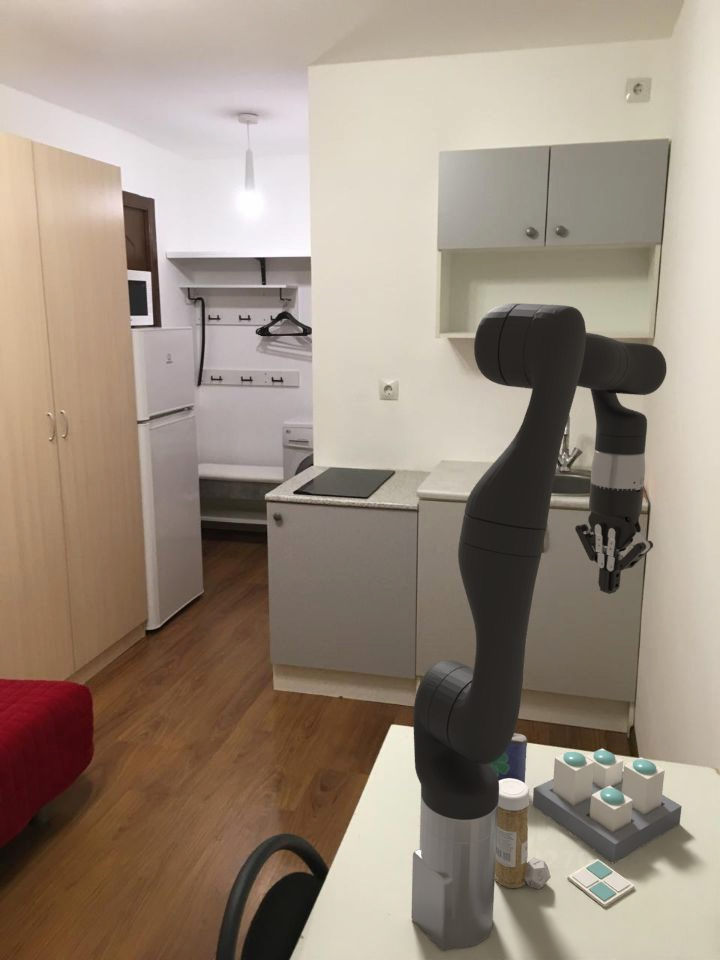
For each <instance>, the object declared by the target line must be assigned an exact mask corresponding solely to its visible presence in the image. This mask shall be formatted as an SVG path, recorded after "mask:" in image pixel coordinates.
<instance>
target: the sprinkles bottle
mask: <svg viewBox="0 0 720 960" xmlns="http://www.w3.org/2000/svg"><path fill="white" fill-rule="evenodd" d="M529 804H530V788H529V787H528V785H527V784H526V782H525V783H524V782H522V781H520V780H517V779H512V778H507V779H502V780H499V803H498V822H497V842H496V863H495V881H496V882H497V883H498V884H500V885H502V886H503V887H506V888H509V889H516V888H520V887H521V888H522V887H523V886H524V885H525V884H527V882H526V881H525V879H524V877H525V873H526V866H527V863H528V854H529V853H528V852H529V851H528V846H529V844H528V843H529V842H528V840H529V839H528V838H529V837H528V836H529V835H528V834H529V831H528V830H529V828H528V811H529V810H528V809H529Z"/></svg>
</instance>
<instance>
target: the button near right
mask: <svg viewBox="0 0 720 960" xmlns="http://www.w3.org/2000/svg"><path fill="white" fill-rule="evenodd" d="M632 803H633V800H632V799H631V798H629V797H627V796H626V795H624V794H622V793H621V792H620V791H618V790H616V789H614V788H613V787H611V786H608V787H606V788H604V789H602V790H600V791H598V792H596V793H594V794H592V795H591V805H590V818H591V819H592V820H594V821H595V822H597V823H598V824H600V825H601V826H603V827H604V828H606V829H607V830H609V831H610V832H612V833H615V832H617V831H618V830H620V829H622V828H624V827H625V826H627V825H629V824H631V814H632Z"/></svg>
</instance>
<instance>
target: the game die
mask: <svg viewBox="0 0 720 960" xmlns="http://www.w3.org/2000/svg"><path fill="white" fill-rule="evenodd" d="M524 879H525V881H526V884H527V885H528V887H531V888H534V889H537V890H541V888H542V887H544V886H545V885H546V884H547V882H548V881H549V880H550V879H551V873H550V869H549V866H548V865H547V863H546V862H545V860H543V859H540V858H537V857H532V858H531V859H530V860H529V861H527V866H526V873H525V877H524Z"/></svg>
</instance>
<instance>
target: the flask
mask: <svg viewBox="0 0 720 960" xmlns="http://www.w3.org/2000/svg"><path fill="white" fill-rule="evenodd" d="M527 746H528V739H527V737H526V735H524V734H522V733H516V732H514V735H513V737H512V740H511V742H510V744H509V746H508V747H507V749H506V751H505V752H504V753H503V755H502V756H501V757H499V758H498V759H497V760H496V761H494V762H492V763H489V764H490V765H491V766H492V767H493V769H494V770H495V772H496V774H497V777H498V780H502V779H507V778H512V779H517V780H520V781H522V782H524V783H525V784H526V771H527V770H526V769H527V768H526V764H527V762H526V761H527V748H528V747H527Z"/></svg>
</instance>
